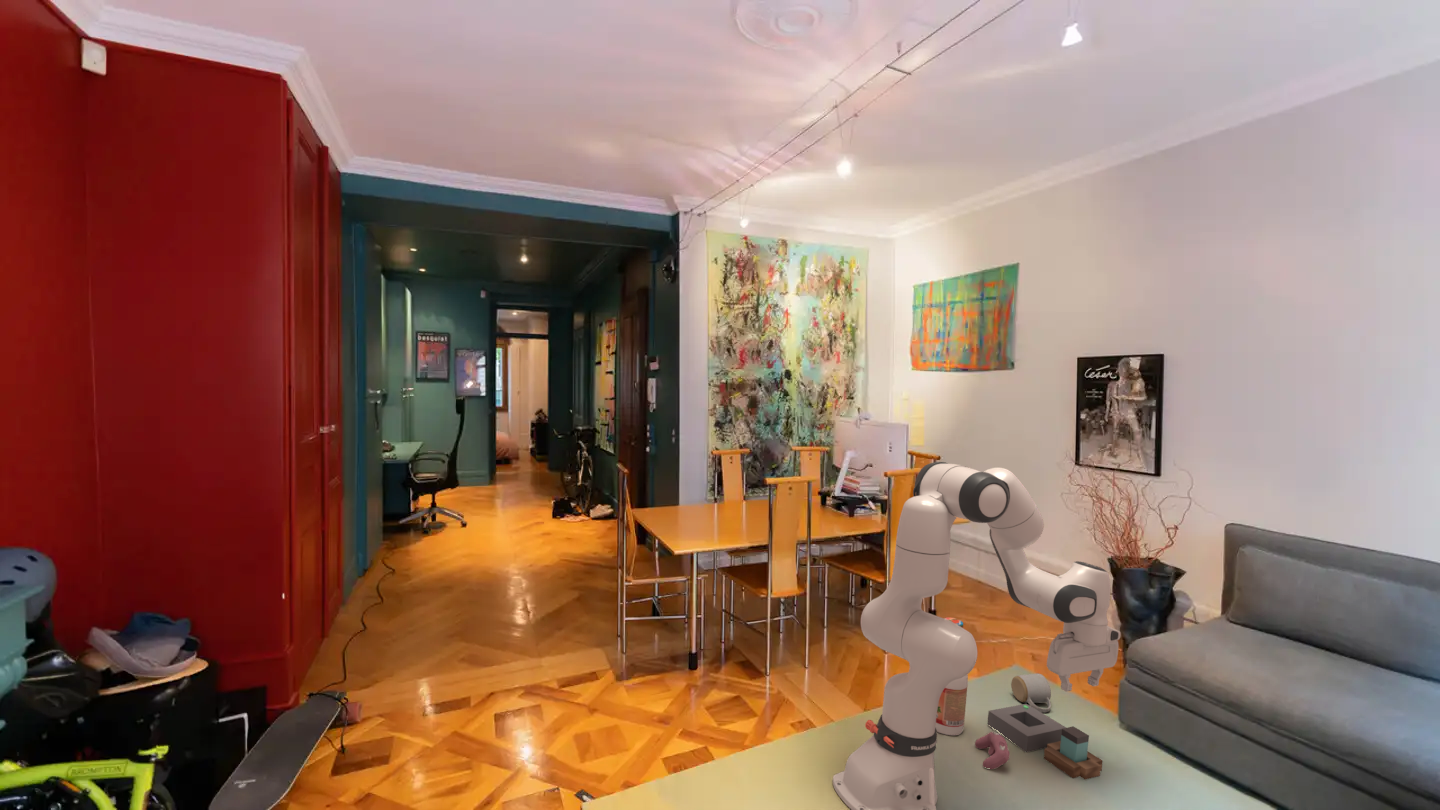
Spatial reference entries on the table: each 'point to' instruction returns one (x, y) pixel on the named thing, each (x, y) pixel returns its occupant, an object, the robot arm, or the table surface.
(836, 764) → the table surface
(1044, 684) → the ceramic mug
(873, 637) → the robot arm
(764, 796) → the table surface
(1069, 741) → the plug
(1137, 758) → the table surface
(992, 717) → the port
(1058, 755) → the brown wooden square frame
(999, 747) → the video game controller
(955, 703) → the fruit juice
